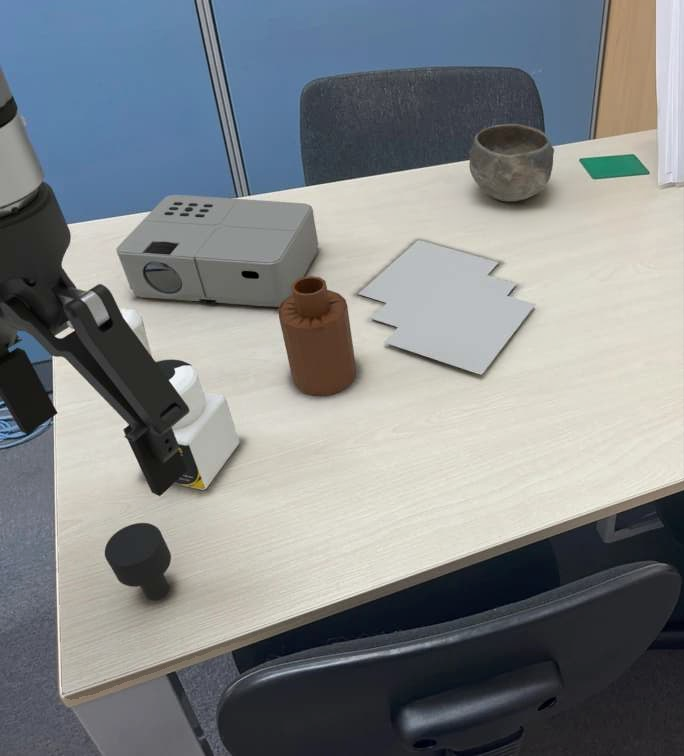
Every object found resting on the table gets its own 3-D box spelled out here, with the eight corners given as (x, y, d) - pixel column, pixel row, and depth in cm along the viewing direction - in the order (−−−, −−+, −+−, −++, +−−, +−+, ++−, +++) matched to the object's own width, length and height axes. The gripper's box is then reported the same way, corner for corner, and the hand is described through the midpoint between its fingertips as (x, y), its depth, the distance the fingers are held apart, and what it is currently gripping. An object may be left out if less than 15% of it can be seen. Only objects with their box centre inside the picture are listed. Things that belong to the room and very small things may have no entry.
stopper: (129, 618, 61) (101, 572, 57) (132, 576, 65) (106, 529, 60) (183, 605, 63) (160, 559, 58) (184, 564, 66) (162, 517, 61)
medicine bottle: (143, 477, 73) (103, 391, 65) (182, 430, 79) (150, 345, 71) (205, 492, 72) (173, 406, 64) (241, 442, 77) (215, 358, 69)
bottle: (296, 401, 83) (276, 310, 74) (290, 361, 88) (270, 272, 79) (360, 389, 84) (348, 299, 76) (351, 351, 90) (338, 263, 81)
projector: (181, 239, 109) (166, 192, 104) (322, 248, 108) (314, 202, 103) (129, 301, 96) (109, 251, 91) (288, 313, 95) (278, 263, 90)
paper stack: (322, 325, 93) (321, 321, 93) (418, 240, 111) (418, 236, 110) (481, 379, 86) (481, 374, 86) (557, 278, 104) (558, 274, 103)
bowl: (461, 208, 119) (460, 151, 112) (480, 169, 130) (481, 115, 124) (543, 218, 117) (547, 160, 111) (555, 178, 129) (560, 123, 122)
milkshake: (152, 356, 88) (126, 288, 81) (168, 379, 85) (143, 310, 78) (113, 370, 86) (84, 302, 79) (128, 394, 83) (99, 325, 76)
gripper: (192, 218, 39) (265, 473, 53) (-99, 129, 47) (31, 373, 61) (78, 285, 34) (191, 548, 48) (-229, 173, 42) (-54, 428, 56)
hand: (102, 451), depth 54 cm, fingers open, 13 cm apart
